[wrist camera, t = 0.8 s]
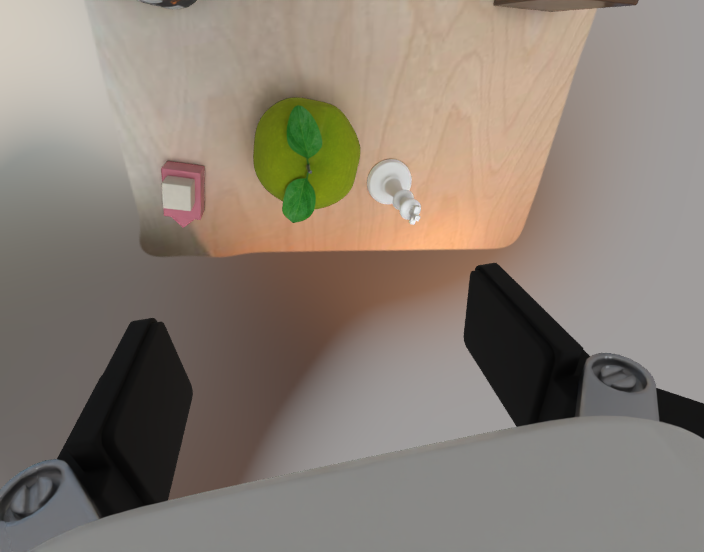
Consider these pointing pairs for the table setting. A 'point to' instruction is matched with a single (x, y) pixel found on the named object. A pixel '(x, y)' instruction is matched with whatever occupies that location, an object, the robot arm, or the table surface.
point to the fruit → (305, 155)
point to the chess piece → (394, 188)
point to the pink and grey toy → (183, 191)
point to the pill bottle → (170, 3)
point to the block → (562, 4)
